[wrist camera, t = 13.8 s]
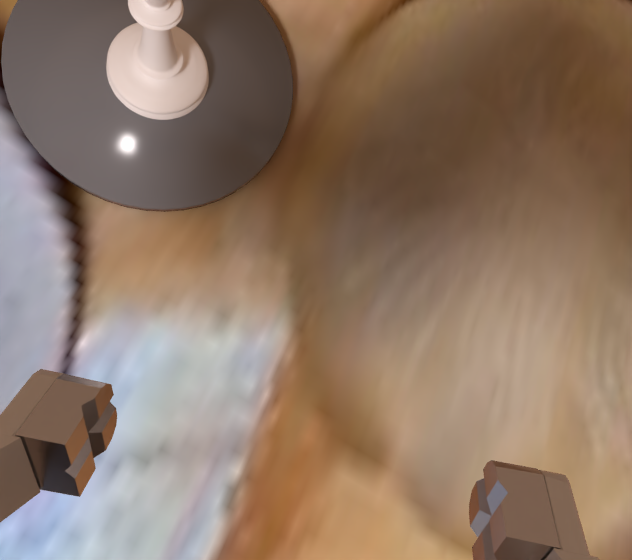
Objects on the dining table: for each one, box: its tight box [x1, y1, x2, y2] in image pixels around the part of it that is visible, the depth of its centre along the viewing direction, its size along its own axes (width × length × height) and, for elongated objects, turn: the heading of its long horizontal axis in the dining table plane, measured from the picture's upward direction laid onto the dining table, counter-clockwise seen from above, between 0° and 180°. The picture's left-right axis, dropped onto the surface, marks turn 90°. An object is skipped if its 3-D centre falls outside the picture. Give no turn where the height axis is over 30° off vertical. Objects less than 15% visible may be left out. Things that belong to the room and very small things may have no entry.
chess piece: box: [106, 0, 209, 120], centre depth 21 cm, size 5×5×10 cm
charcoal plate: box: [1, 0, 293, 212], centre depth 27 cm, size 14×14×1 cm
